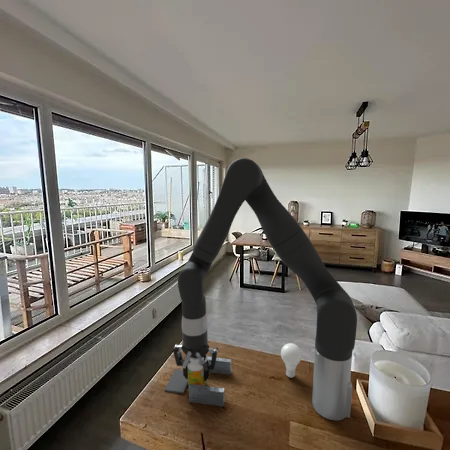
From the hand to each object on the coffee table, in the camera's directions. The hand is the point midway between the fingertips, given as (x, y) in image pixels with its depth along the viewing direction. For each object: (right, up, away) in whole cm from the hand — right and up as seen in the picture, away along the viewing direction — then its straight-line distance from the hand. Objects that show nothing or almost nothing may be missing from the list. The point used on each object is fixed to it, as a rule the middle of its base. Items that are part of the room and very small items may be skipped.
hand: (196, 377), depth 83 cm
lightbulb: (+30, -1, +3) cm, 30 cm away
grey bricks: (+5, -2, -1) cm, 5 cm away
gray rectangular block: (-6, -2, +1) cm, 6 cm away
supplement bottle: (0, -2, 0) cm, 2 cm away
